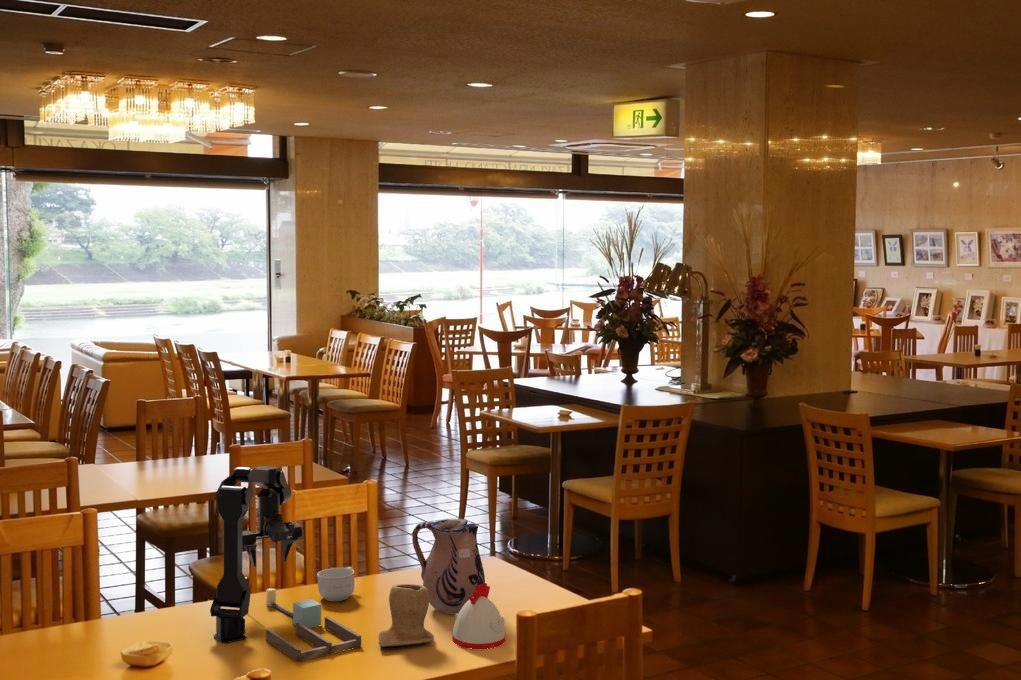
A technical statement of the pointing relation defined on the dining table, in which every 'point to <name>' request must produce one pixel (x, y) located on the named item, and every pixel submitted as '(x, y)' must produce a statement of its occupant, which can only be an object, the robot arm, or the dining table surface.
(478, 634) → the kitchen timer
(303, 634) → the lane rack
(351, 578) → the teacup
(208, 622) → the dining table surface
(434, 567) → the ceramic pitcher
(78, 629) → the dining table surface
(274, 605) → the mallet
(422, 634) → the stone cup
